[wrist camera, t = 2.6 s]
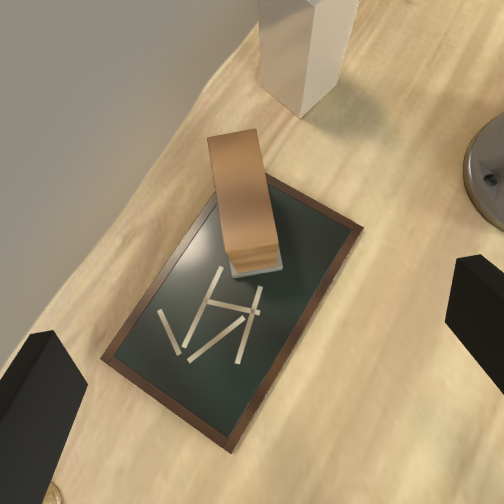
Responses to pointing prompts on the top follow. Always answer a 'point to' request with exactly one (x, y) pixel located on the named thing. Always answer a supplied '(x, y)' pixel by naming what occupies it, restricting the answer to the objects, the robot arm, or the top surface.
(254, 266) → the eraser
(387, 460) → the top surface
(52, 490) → the sprinkles bottle
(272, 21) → the soap dispenser
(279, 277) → the chalkboard
